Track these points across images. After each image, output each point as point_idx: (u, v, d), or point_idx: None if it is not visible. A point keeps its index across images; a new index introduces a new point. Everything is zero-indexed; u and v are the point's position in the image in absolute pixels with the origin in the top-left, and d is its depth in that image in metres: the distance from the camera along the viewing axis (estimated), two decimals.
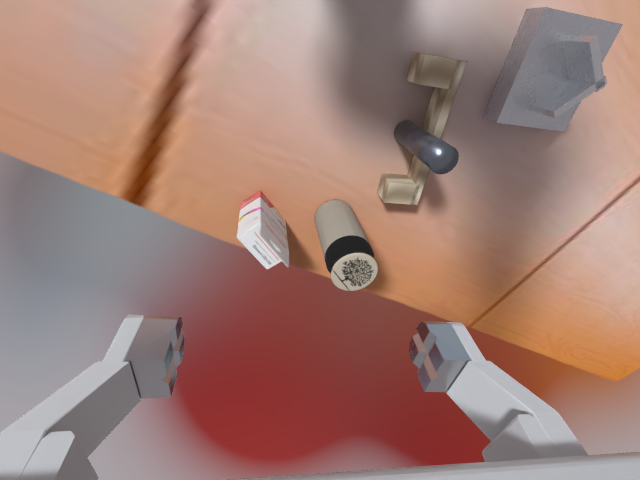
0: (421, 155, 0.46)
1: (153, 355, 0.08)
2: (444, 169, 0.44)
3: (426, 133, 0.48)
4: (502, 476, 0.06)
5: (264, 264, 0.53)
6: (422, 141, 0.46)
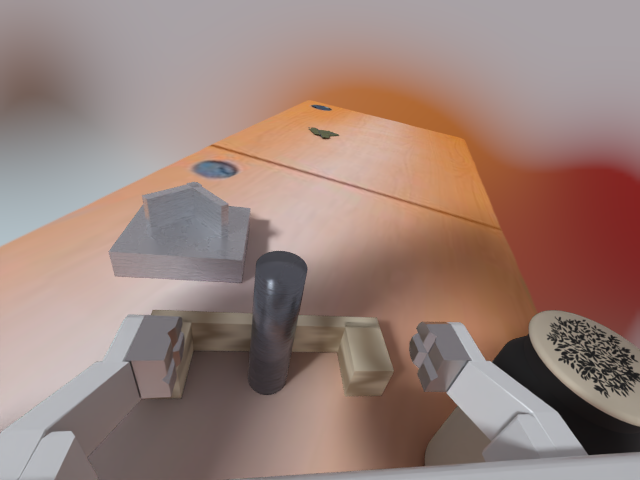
0: (285, 312, 0.25)
1: (153, 355, 0.08)
2: (297, 263, 0.25)
3: (252, 324, 0.27)
4: (503, 477, 0.06)
5: None
6: (262, 321, 0.26)
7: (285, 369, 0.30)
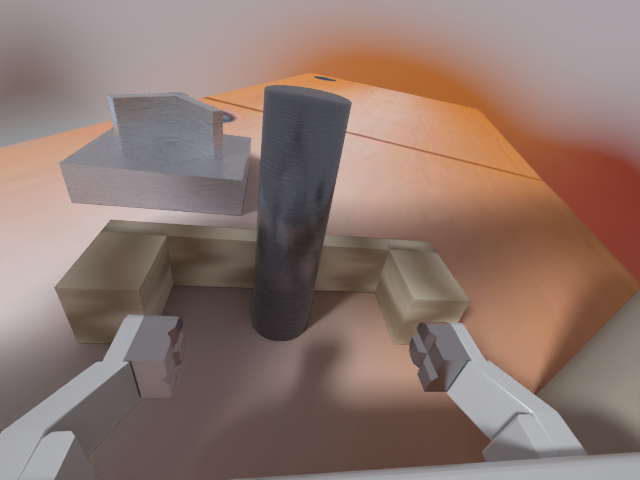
0: (314, 175, 0.15)
1: (153, 355, 0.08)
2: (333, 97, 0.15)
3: (258, 217, 0.17)
4: (503, 477, 0.06)
5: None
6: (276, 198, 0.15)
7: (308, 299, 0.20)
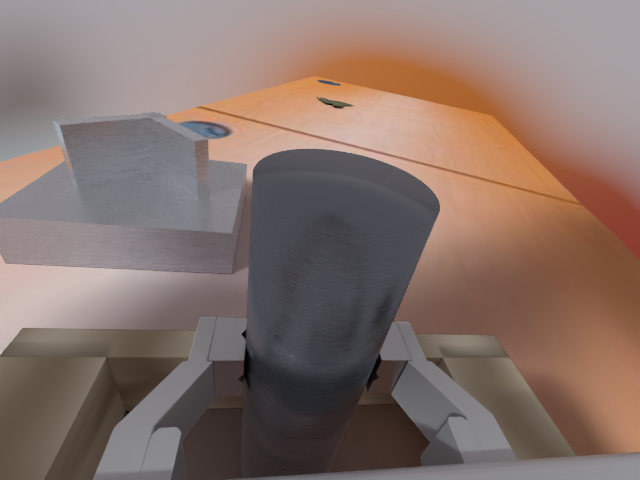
0: (358, 345, 0.07)
1: (233, 355, 0.09)
2: (395, 178, 0.07)
3: (245, 374, 0.10)
4: (502, 476, 0.06)
5: None
6: (277, 374, 0.08)
7: (328, 471, 0.12)
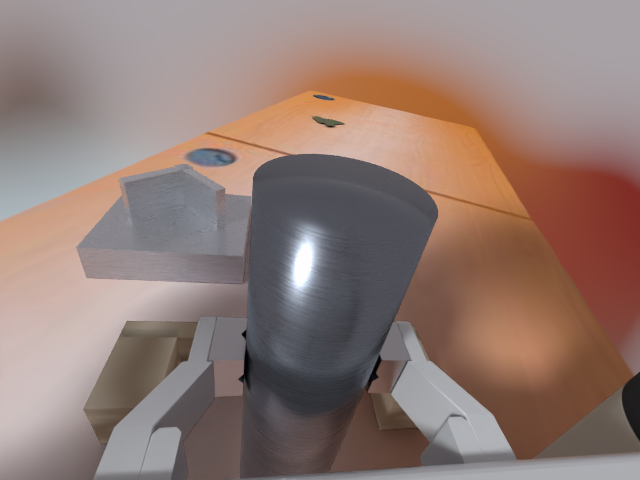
0: (357, 350, 0.07)
1: (233, 355, 0.09)
2: (393, 184, 0.07)
3: (245, 377, 0.10)
4: (502, 476, 0.06)
5: None
6: (277, 378, 0.08)
7: (328, 472, 0.13)
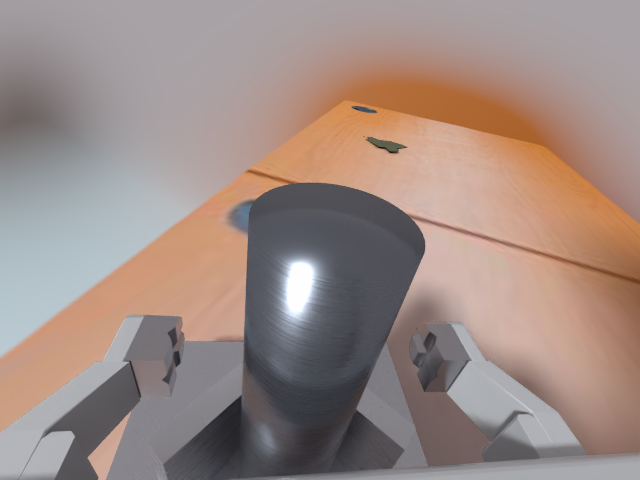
0: (348, 375, 0.07)
1: (153, 355, 0.08)
2: (384, 215, 0.08)
3: (243, 394, 0.10)
4: (502, 476, 0.06)
5: None
6: (272, 399, 0.08)
7: None
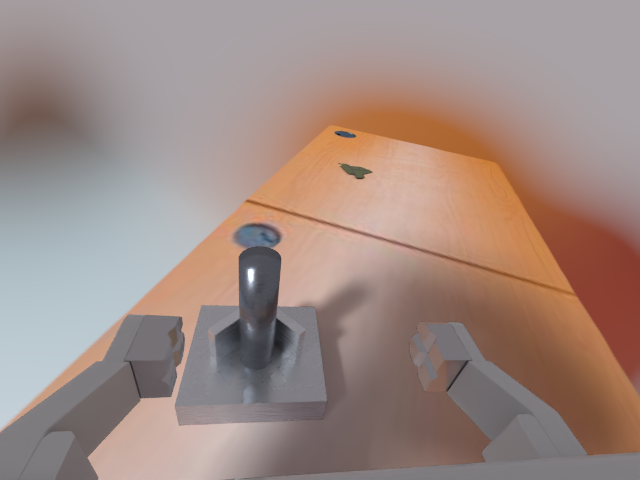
0: (264, 296, 0.30)
1: (153, 355, 0.08)
2: (273, 256, 0.31)
3: (239, 309, 0.33)
4: (503, 477, 0.06)
5: None
6: (246, 305, 0.31)
7: (270, 347, 0.36)
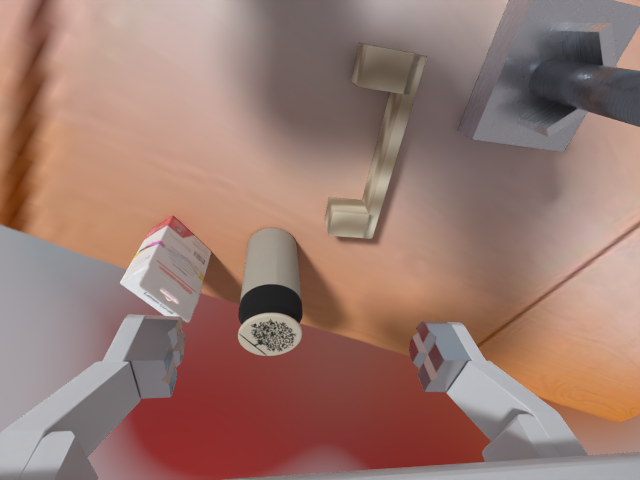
0: (619, 102, 0.27)
1: (153, 355, 0.08)
2: None
3: (617, 68, 0.29)
4: (503, 477, 0.06)
5: (165, 313, 0.42)
6: (619, 79, 0.28)
7: (548, 95, 0.35)
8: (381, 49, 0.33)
